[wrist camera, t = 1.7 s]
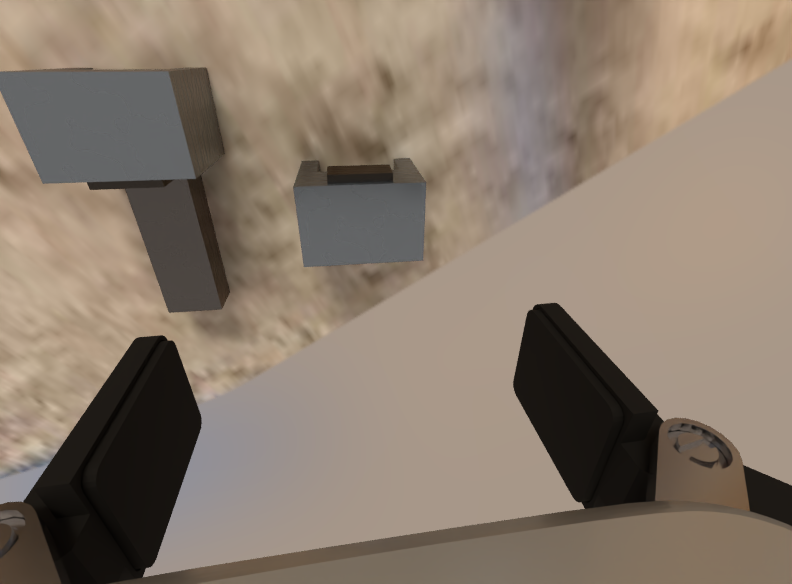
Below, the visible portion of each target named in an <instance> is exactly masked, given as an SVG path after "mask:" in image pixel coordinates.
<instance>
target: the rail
mask: <svg viewBox="0 0 792 584" xmlns="http://www.w3.org/2000/svg"><path fill="white" fill-rule="evenodd" d="M0 91H1V93H2V96H3V98H4V100H5V102H6V104H7V106H8V109H9V111H10V113H11V115H12V117H13V119H14V122H15V124H16V126H17V128H18V130H19V133H20V135H21V137H22V139H23V141H24V143H25V146H26V148H27V150H28V152H29V154H30V157H31V159H32V161H33V163H34V165H35V167H36V170H37V172H38V174H39V176H40V178H41V181H42V183H43V184H44V183H76V182H87V184H88V186H89V189H90V190H98V189H125V190H126V193H127V195H128V198H129V201H130V204H131V207H132V209H133V212H134V215H135V218H136V221H137V224H138V226H139V229H140V232H141V235H142V238H143V241H144V243H145V246H146V249H147V252H148V255H149V257H150V260H151V263H152V266H153V269H154V272H155V274H156V277H157V280H158V283H159V286H160V289H161V291H162V294H163V297H164V300H165V303H166V305H167V308H168V311H169V313H171V312H187V311H202V310H217V309H222V308H223V306H224V304H225V301H226V299H227V297H228V295H229V293H230V291H229V287H228V283H227V279H226V275H225V271H224V267H223V263H222V259H221V255H220V251H219V247H218V243H217V239H216V235H215V231H214V227H213V223H212V219H211V215H210V211H209V207H208V203H207V199H206V195H205V191H204V187H203V183H202V179H201V174H202V173H203V172H204V171H205V170H207V169H208V168H209V167H210V166H211V165H212V164H213V163H215V162H216V161H217V160H218V159H219V158H220V157H222V156H223V155H224V154H225V153H224V148H223V144H222V139H221V134H220V130H219V125H218V120H217V116H216V111H215V106H214V102H213V97H212V92H211V88H210V83H209V78H208V74H207V69H206V68H178V69H125V70H93V68H62V69H42V70H22V71H2V72H0Z"/></svg>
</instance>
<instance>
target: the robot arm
mask: <svg viewBox="0 0 792 584" xmlns="http://www.w3.org/2000/svg"><path fill="white" fill-rule="evenodd" d="M513 387H514V391H515V394H516V396H517V397H518V399H519V401H520V403H521V405H522V407H523V409H524V410H525V412H526V414H527V416H528V417H529V419H530V421H531V423H532V425H533V426H534V428H535V430H536V432H537V434H538V435H539V437H540V439H541V441H542V442H543V444H544V446H545V448H546V450H547V452H548V453H549V455H550V457H551V459H552V461H553V462H554V464H555V466H556V468H557V470H558V471H559V473H560V475H561V477H562V479H563V480H564V482H565V484H566V486H567V488H568V489H569V491H570V493H571V495H572V496H573V498H574V499H575V500H576V501H577V502H582V504H583V506H584V508H585V509H580V510H573V511H565V512H558V513H552V514H545V515H538V516H532V517H525V518H518V519H511V520H504V521H497V522H491V523H484V524H477V525H470V526H464V527H457V528H450V529H444V530H437V531H431V532H424V533H417V534H411V535H404V536H398V537H391V538H385V539H378V540H372V541H365V542H359V543H352V544H346V545H339V546H334V547H326V548H320V549H314V550H308V551H301V552H295V553H288V554H282V555H276V556H269V557H263V558H257V559H251V560H244V561H238V562H232V563H225V564H219V565H213V566H207V567H200V568H195V569H188V570H183V571H178V572H171V573H166V574H160V575H154V576H149V577H143V574H144V572H145V569H146V568H149V567H151V566H152V565H153V564H154V562H155V560H156V558H157V555H158V552H159V549H160V546H161V543H162V540H163V537H164V534H165V532H166V529H167V526H168V523H169V520H170V517H171V514H172V511H173V508H174V505H175V503H176V499H177V497H178V494H179V491H180V488H181V485H182V482H183V479H184V476H185V473H186V470H187V468H188V464H189V462H190V459H191V456H192V453H193V450H194V447H195V444H196V441H197V438H198V435H199V433H200V429H201V414H200V412H199V409H198V406H197V403H196V400H195V398H194V395H193V392H192V389H191V386H190V384H189V381H188V378H187V375H186V373H185V370H184V367H183V364H182V361H181V359H180V356H179V353H178V350H177V347H176V345H175V343H174V342H173V341H168V340H167V338H166V337H165V336H162V335H161V336H149V337H139V338H136V339H135V340H134V341H133V343H132V344H131V346H130V347H129V349H128V350H127V351H126V353H125V354H124V356H123V357H122V359H121V360H120V362H119V363H118V365H117V366H116V367H115V369H114V370H113V372H112V373H111V375H110V376H109V378H108V379H107V381H106V382H105V383H104V385H103V386H102V388H101V389H100V391H99V392H98V394H97V395H96V397H95V398H94V399H93V401H92V402H91V404H90V405H89V407H88V408H87V410H86V411H85V413H84V414H83V415H82V417H81V418H80V420H79V421H78V423H77V424H76V426H75V427H74V429H73V430H72V431H71V433H70V434H69V436H68V437H67V439H66V440H65V442H64V443H63V445H62V446H61V448H60V449H59V450H58V452H57V453H56V455H55V456H54V458H53V459H52V461H51V462H50V464H49V465H48V466H47V468H46V469H45V471H44V472H43V474H42V475H41V477H40V478H39V480H38V481H37V482H36V484H35V485H34V487H33V488H32V490H31V491H30V493H29V494H28V496H27V497H26V499H25V500H24V502H7V503H4V504H0V584H792V486H791V485H789V484H787V483H784V482H782V481H780V480H777V479H775V478H772V477H770V476H768V475H765V474H763V473H761V472H758V471H756V470H754V469H751V468H749V467H746V466H744V465H743V462H742V459H741V456H740V453H739V451H738V450H737V449H736V447H735V446H734V445H733V444H732V442H730V441H729V440H728V439H727V438H726V437H725V436H724V435H722V434H721V433H719V432H718V431H716V430H715V429H713V428H711V427H709V426H707V425H705V424H702V423H700V422H698V421H694V420H690V419H686V418H672V419H668V420H666V421H665V422H664V421H663V420H662V419H661V418H660V417H659V416H658V415H657V413H658V410H657V409H656V408H655V407H654V406H653V405H652V404H651V402H650V401H649V400H648V399H647V398H645V396H644V395H643V394H642V393H641V392H640V391H639V389H638V388H637V387H636V386H635V385H634V384H633V383H632V382H631V381H630V380H629V379H628V378H627V377H626V376H625V375H624V373H623V372H622V371H621V370H620V369H619V368H618V367H617V366H616V365H615V364H614V363H613V362H612V361H611V360H610V358H608V356H607V355H606V354H605V353H604V352H603V351H602V350H601V349H600V348H599V347H598V346H597V345H596V343H595V342H593V340H592V339H591V338H590V337H589V336H588V335H587V334H586V333H585V332H584V331H583V330H582V329H581V328H580V326H579V325H578V324H577V323H576V322H575V321H574V320H573V319H572V318H571V317H570V316H569V315H568V314H567V313H566V311H565V310H564V309H563V308H562V307H561V306H560V305H559V304H557V303H550V304H537V305H535V306H534V307H533V310H530V311H529V312H528V313H527V317H526V322H525V327H524V332H523V337H522V342H521V347H520V351H519V356H518V361H517V366H516V372H515V376H514V381H513ZM142 577H143V578H142Z"/></svg>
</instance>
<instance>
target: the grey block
mask: <svg viewBox="0 0 792 584" xmlns="http://www.w3.org/2000/svg"><path fill="white" fill-rule="evenodd" d="M293 188H294V196H295V203H296V211H297V218H298V226H299V233H300V241H301V248H302V256H303V263H304V267H313V266H331V265H349V264H367V263H385V262H403V261H421V260H423V250H424V224H425V199H426V181H425V180H424V178H423V177H422V176H421V174H420V173H419V171H418V170H417V168H416V167H415V165H414V164H413V163H412V161H411V160H410V158H400V159H394V170H391V167H390V165H360V166H328V168H327V172H320V170H319V161H302V163H301V166H300V169H299V172H298V175H297V177H296V180H295V183H294V186H293Z"/></svg>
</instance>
